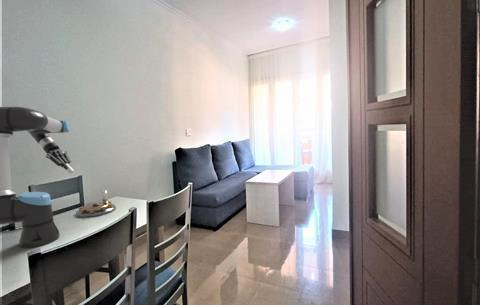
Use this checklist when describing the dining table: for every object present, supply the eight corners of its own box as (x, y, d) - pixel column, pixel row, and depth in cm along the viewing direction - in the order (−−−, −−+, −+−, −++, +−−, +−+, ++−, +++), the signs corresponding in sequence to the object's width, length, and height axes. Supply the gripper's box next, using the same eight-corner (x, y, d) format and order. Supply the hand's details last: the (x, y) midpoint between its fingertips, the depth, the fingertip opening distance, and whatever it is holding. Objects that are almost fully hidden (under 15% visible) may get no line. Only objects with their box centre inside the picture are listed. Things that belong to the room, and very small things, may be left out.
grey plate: (95, 218, 148) (95, 216, 148) (67, 216, 154) (67, 213, 154) (123, 206, 169) (123, 204, 169) (97, 205, 175) (97, 202, 175)
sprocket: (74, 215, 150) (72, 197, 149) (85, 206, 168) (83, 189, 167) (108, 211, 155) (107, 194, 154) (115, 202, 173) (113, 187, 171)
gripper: (56, 149, 169) (78, 174, 166) (36, 151, 157) (59, 178, 153) (61, 141, 167) (84, 166, 164) (41, 142, 154) (64, 170, 151)
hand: (72, 172), depth 159 cm, fingers closed
